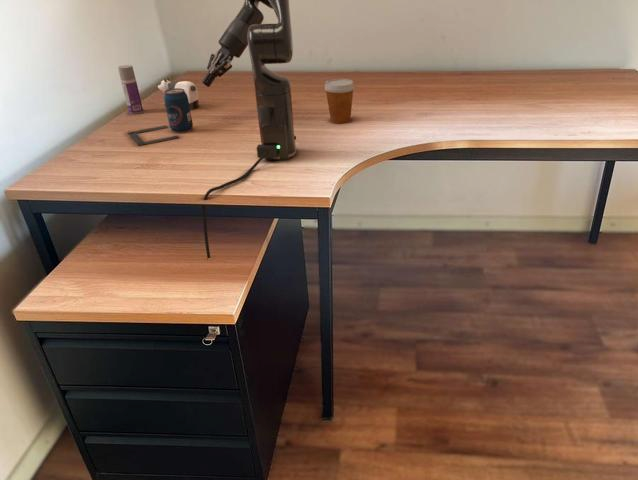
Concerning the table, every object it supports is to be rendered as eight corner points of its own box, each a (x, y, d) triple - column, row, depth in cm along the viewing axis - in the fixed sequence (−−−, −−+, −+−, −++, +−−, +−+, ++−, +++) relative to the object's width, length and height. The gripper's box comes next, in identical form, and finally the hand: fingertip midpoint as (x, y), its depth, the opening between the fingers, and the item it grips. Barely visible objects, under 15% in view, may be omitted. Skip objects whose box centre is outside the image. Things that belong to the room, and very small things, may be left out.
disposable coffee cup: (339, 114, 182) (338, 76, 175) (361, 119, 176) (360, 81, 170) (319, 121, 176) (317, 83, 169) (342, 127, 170) (340, 87, 164)
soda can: (166, 132, 168) (157, 93, 162) (177, 125, 174) (170, 87, 167) (186, 134, 167) (178, 94, 160) (197, 127, 172) (190, 88, 166)
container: (145, 109, 189) (134, 64, 181) (140, 114, 185) (130, 67, 177) (131, 110, 189) (120, 65, 181) (127, 114, 185) (115, 68, 177)
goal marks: (165, 126, 174) (165, 125, 174) (179, 138, 164) (179, 137, 164) (127, 133, 168) (127, 132, 168) (139, 146, 159) (138, 145, 159)
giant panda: (202, 106, 192) (197, 78, 187) (194, 110, 188) (188, 81, 182) (167, 103, 196) (161, 75, 191) (157, 107, 191) (151, 79, 186)
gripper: (219, 26, 169) (188, 73, 170) (235, 32, 159) (202, 81, 161) (238, 42, 174) (207, 87, 175) (254, 49, 165) (222, 97, 166)
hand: (205, 84), depth 168 cm, fingers closed
